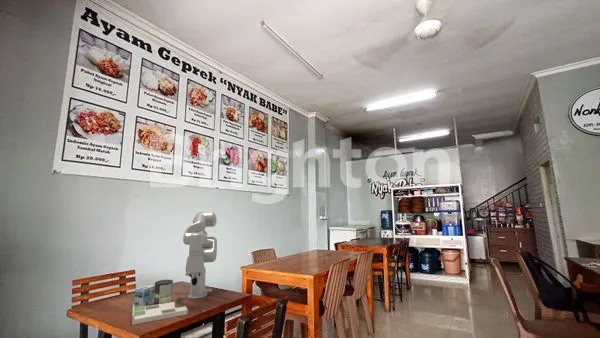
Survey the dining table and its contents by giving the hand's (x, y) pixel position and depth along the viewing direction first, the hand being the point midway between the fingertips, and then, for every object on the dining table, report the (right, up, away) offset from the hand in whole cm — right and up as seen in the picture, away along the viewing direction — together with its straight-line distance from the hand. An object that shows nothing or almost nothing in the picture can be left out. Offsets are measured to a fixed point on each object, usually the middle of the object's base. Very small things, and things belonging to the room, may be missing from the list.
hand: (194, 284), depth 171 cm
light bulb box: (-34, -15, +5) cm, 37 cm away
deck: (-16, -12, -11) cm, 23 cm away
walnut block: (-7, -10, -5) cm, 13 cm away
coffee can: (-21, -15, +4) cm, 26 cm away
